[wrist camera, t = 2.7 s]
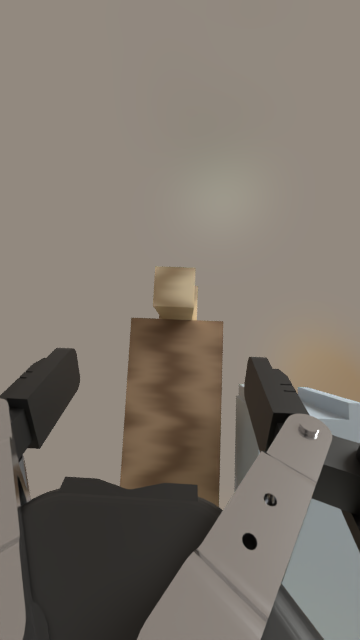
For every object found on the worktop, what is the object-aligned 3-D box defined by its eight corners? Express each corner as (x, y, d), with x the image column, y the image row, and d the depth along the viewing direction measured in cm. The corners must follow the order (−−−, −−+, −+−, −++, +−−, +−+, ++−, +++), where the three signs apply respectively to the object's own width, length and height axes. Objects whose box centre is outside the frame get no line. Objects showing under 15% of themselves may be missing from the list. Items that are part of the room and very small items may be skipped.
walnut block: (108, 654, 24) (131, 317, 28) (125, 587, 31) (142, 324, 35) (215, 663, 24) (223, 321, 28) (208, 593, 31) (215, 327, 35)
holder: (256, 746, 19) (258, 398, 22) (232, 611, 29) (236, 384, 32) (381, 758, 19) (366, 403, 22) (314, 617, 29) (310, 387, 32)
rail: (145, 305, 20) (148, 251, 21) (162, 325, 35) (164, 293, 36) (201, 307, 20) (203, 253, 21) (195, 326, 35) (196, 294, 36)
